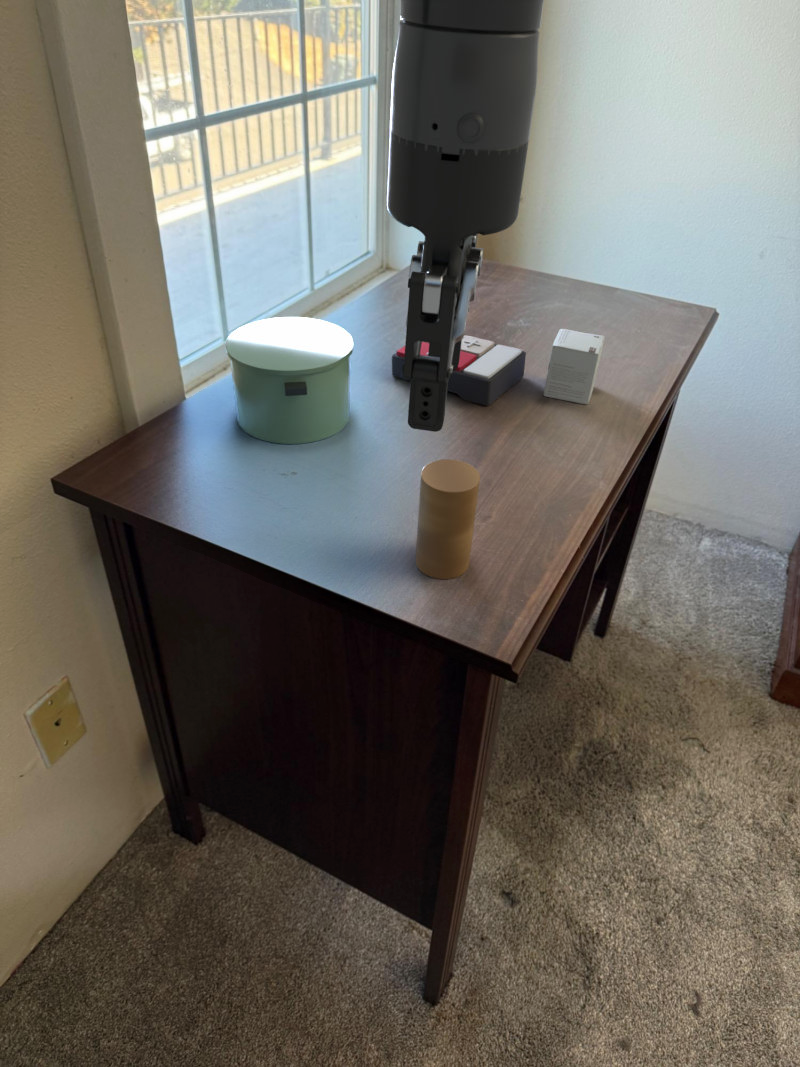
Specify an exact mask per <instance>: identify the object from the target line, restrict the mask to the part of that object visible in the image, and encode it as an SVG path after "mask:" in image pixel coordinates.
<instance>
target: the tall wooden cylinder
mask: <svg viewBox="0 0 800 1067" xmlns="http://www.w3.org/2000/svg"><path fill="white" fill-rule="evenodd" d="M480 481H481V475H480V472H479V471H478V470H477V469H476V468H475V467H474V466H473V465H471V464H470V463H467V462H465V461H462V460H458V459H453V458H451V459H450V458H446V459H437V460H433V461H431V462H429V463H427V464H426V465H425V466H423V468H422V470H421V472H420V484H419V499H418V501H419V502H418V514H417V516H418V517H417V527H416V528H417V530H416V543H415V559H414V560H415V561H414V562H415V565H416V567H417V568H418V570H419V571H420V572H421V573H423V574H424V575H426V576H428V577H430V578H434V579H437V580H438V579H439V580H452V579H455V578H458V577H460V576H462V575H464V574H465V573H466V572H467V570H469V567H470V561H471V553H472V547H473V546H472V545H473V537H474V530H475V521H476V514H477V505H478V498H479V489H480Z"/></svg>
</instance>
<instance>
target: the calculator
mask: <svg viewBox="0 0 800 1067" xmlns="http://www.w3.org/2000/svg"><path fill="white" fill-rule="evenodd" d="M495 343H496V342H495V341H493V340H489V339H484V338H480V337H475V336H472V335H471V336H470V335H466V334H465V335H464V338H463V339H462V343H461V352H460V361H459V365H458V367H457V369H455V370H453V372H452V374H451V373H450V377H449V379H448V387H447V392H451V393H454V394H457V395H458V396H459V397H460V398H461V399H462V400H464V401H468V402H471V403H475V404H478V405H482V406H486V407H488V406H490V405H491V404H493V403H494V402H495V401H496V400H497V399H498V398H499V397H501V396H502V395H503V394H505V392H507V391H508V390H509V389H510V388H512V387H513V386H514V385H515V384H516V383H517V382H518V381H520V380H521V379H522V378H523V377H524V375H525V368H526V367H525V365H526V356H527V353H526V351H524V350H523V349H521V348H517V347H512V346H508V345H504V344H495ZM428 352H429V342H424V341H422V344H421V351H420V355H425V356H428ZM404 357H405V345H404V346H402V347H400V348H399V349H397V350H396V352H395V353H394V354H392V355H391V375H392V377H396V378H399V379H402V380H406V381H410V382H411V379H404V378H403V372H402V365H403V363H404Z"/></svg>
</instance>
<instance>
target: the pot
mask: <svg viewBox="0 0 800 1067" xmlns="http://www.w3.org/2000/svg"><path fill="white" fill-rule="evenodd" d="M354 346H355V345H354V339H353V337H352V335H351V334H350V333H349V332H348V331H347V330H346V329H344V328H343V327H341V326H339V325H337V324H336V323H333V322H329V321H326V320H323V319H317V318H311V317H304V316H303V317H302V316H282V317H271V318H265V319H261V320H256V321H253V322H250V323H247V324H245V325H244V324H243V325H242V326H240V327H237V329H235V330H234V331H232V332H231V333H230V334H229V335H228V336H227V338H226V340H225V343H224V347H225V353H226V356H227V357H228V359H230V369H231V378H232V379H231V380H232V387H233V396H234V404H235V406H234V407H235V412H236V421H237V424H238V426H239V427H240V428H241V429H242V430H243V431H244V432H245V433H247V434H248V435H250V436H252V437H254V438H255V439H259V440H261V441H265V442H268V443H273V444H280V445H281V444H282V445H300V444H301V445H302V444H309V443H314V442H319V441H322V440H325V439H327V438H331V437H333V436H334V435H336V434H338V433H339V432H340V431H343V429H344V428H345V427H346V426H347V425H348V423H349V422H350V419H351V355H352V354H353V352H354Z"/></svg>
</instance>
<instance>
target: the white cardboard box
mask: <svg viewBox="0 0 800 1067" xmlns="http://www.w3.org/2000/svg"><path fill="white" fill-rule="evenodd" d="M604 342H605V335H599V334H594V333H587V332H582V331H577V330H572V329H567V328H560V329H559V330H558V333H557V334H556V337H555V338H554V341H553V342H552V343H553V344H552V346H551V353H550V358H549V362H548V368H547V374H546V378H545V384H544V389H543V396H544V397H546V398H549V399H556V400H560V401H566V402H571V403H577V404H583V405H589V403H590V401H591V398H592V396H593V395H592V394H593V392H594V387H595V384H596V379H597V374H598V370H599V367H600V366H599V365H600V361H601V356H602V351H603V347H604Z"/></svg>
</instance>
